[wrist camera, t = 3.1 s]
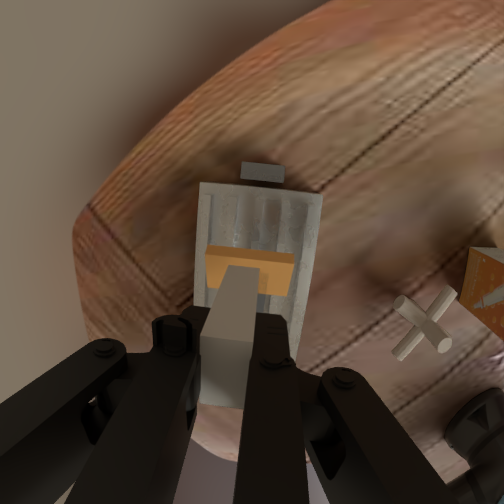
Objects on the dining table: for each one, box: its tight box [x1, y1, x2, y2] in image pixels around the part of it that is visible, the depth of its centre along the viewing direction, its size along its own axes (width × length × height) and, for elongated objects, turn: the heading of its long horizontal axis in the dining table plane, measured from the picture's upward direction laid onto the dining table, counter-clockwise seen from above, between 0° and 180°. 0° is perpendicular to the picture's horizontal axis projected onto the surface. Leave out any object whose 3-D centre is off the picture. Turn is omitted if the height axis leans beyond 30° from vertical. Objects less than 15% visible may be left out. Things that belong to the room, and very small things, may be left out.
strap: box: [205, 245, 294, 313], centre depth 24 cm, size 20×5×1 cm
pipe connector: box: [391, 284, 458, 361], centre depth 29 cm, size 10×10×10 cm
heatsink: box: [194, 162, 323, 361], centre depth 30 cm, size 23×12×8 cm, turn 174°
